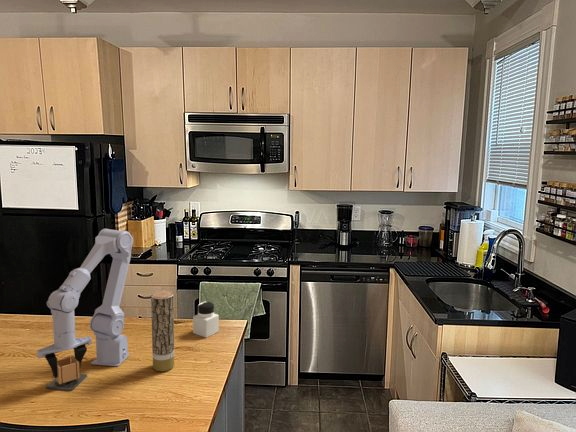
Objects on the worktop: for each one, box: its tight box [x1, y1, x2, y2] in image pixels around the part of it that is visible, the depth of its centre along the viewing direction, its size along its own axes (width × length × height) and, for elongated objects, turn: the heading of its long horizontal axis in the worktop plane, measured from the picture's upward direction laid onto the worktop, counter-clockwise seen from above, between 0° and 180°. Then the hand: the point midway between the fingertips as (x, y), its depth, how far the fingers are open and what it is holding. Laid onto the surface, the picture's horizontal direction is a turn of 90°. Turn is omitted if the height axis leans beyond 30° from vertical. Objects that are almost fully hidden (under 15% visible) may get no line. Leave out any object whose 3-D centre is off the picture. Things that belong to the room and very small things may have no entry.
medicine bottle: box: [192, 301, 220, 338], centre depth 165 cm, size 7×7×12 cm
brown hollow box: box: [54, 355, 81, 384], centre depth 127 cm, size 6×6×5 cm
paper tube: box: [150, 289, 175, 372], centre depth 137 cm, size 7×7×25 cm
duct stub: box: [45, 369, 88, 392], centre depth 128 cm, size 8×8×4 cm
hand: (66, 372), depth 127 cm, fingers closed on brown hollow box, 6 cm apart
